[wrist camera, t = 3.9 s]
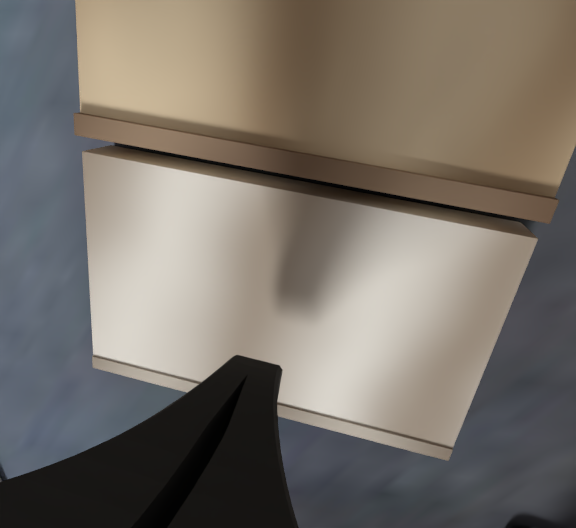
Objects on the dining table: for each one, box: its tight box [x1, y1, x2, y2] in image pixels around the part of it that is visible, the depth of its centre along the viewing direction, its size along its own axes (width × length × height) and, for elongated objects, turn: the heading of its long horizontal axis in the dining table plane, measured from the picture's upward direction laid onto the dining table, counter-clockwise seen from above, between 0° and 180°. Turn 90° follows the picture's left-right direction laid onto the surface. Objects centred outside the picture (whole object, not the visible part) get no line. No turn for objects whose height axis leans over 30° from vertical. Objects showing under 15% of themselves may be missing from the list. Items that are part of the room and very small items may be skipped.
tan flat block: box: [82, 145, 538, 461], centre depth 14 cm, size 13×8×2 cm, turn 81°
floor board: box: [74, 0, 576, 224], centre depth 11 cm, size 13×6×2 cm, turn 81°
